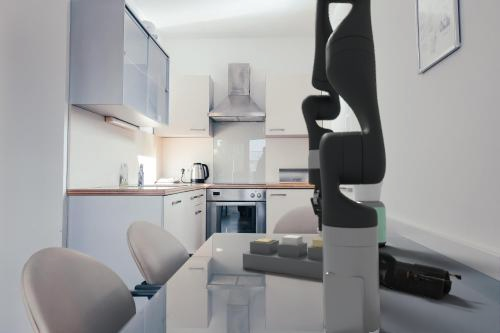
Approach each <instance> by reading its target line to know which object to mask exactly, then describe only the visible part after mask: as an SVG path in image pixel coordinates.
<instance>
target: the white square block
mask: <svg viewBox="0 0 500 333" xmlns="http://www.w3.org/2000/svg"><path fill="white" fill-rule="evenodd" d="M303 242H304V241H303V235H295V234H287V235H284V236H282V237H281V243H282V245H293V246H299V245H301V244H303Z"/></svg>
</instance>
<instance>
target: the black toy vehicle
mask: <svg viewBox="0 0 500 333" xmlns="http://www.w3.org/2000/svg"><path fill="white" fill-rule="evenodd" d="M378 255H379V283H382V284H383V285H386V288H389V287H390V288H389V289H393V288H394V290H397V289H398V290H399V291H401V290H402V291H401V292H406V293H408V294H409V293H410V294H413V295H416V294H417V295H418V296H420V295H421V297H424V296H425V298H428V297H429V299H433V300H438V301H439V300H442V299H443V298H444V297H446V296H448V295H449V293H450V292H451V290H452V284H453V283H452V282H453V281H452V280H451V276H452V277H454V278H456V279H457V280H460V281H461V280H462V275H459V274H453V273H450V272H449V271H448V270H445V269H444V268H440V267H437V266H436V267H435V266H432V265H431V266H430V265H426V264H425V265H424V264H419V263H409V262H404V261H401V260H397V258H396V257H394V256H393V255H392V254H390V253H388V252H384V251H382V250H378ZM381 281H382V282H381ZM417 295H416V296H417Z"/></svg>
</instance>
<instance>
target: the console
mask: <svg viewBox="0 0 500 333" xmlns="http://www.w3.org/2000/svg"><path fill="white" fill-rule="evenodd" d="M255 240H256V239H254V240H252V241H250V242H249V251H247V252H243V253H242V268H243V269H249V270H255V271H263V272H271V273H279V274H284V275H291V276H292V275H293V276H298V277H299V276H300V277H306V278H313V279H314V278H315V279H320V280H323V252H322V248H314V247H313V244H312V245H310V246H308V242H304V241H303V244H301V245H299V246H293V245H282V242H280V240H279V239H274V241H273V242H270V243H261V242H255Z"/></svg>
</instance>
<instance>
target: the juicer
mask: <svg viewBox="0 0 500 333" xmlns="http://www.w3.org/2000/svg"><path fill="white" fill-rule="evenodd" d="M383 184H384V179H383V180H382V181H381V182H380V183H378V184H368V185H361V184H360V185H352V190H353V195H354V201H355V202H358V203H361V204H364V205H367V206H370V207H373V208H374V209H375V210H376V211H377V215H378V247H380V246H381V245H385V244H387V241H388V240H387V238H388V236H387V213H386V212H387V209H386V206H385V204H384V202H382V201H380V200H381V193H382V187H383Z"/></svg>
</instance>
